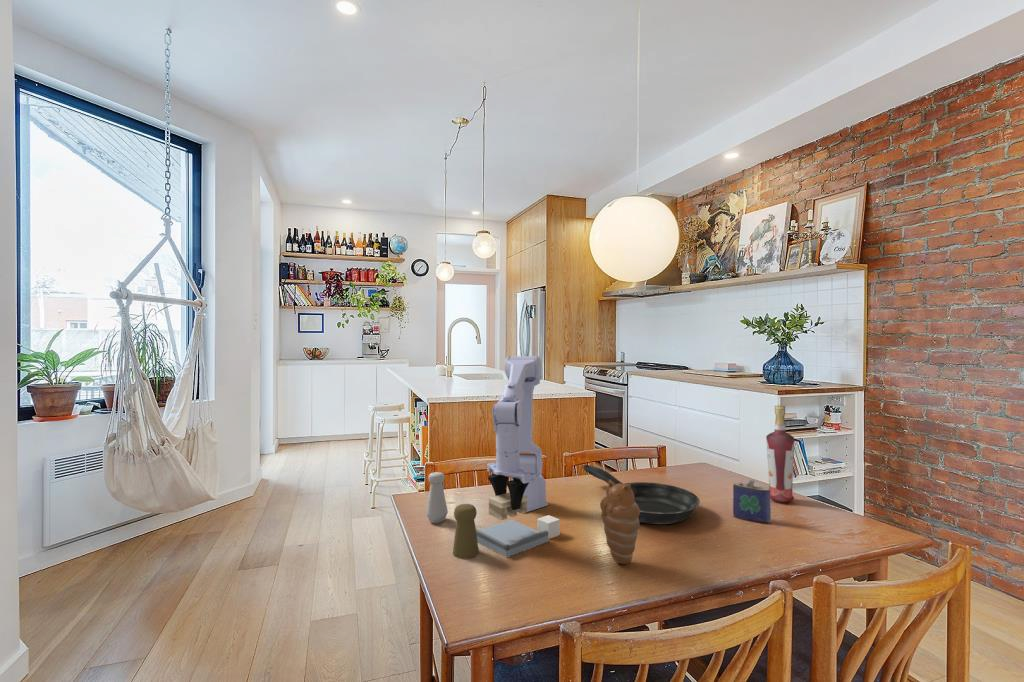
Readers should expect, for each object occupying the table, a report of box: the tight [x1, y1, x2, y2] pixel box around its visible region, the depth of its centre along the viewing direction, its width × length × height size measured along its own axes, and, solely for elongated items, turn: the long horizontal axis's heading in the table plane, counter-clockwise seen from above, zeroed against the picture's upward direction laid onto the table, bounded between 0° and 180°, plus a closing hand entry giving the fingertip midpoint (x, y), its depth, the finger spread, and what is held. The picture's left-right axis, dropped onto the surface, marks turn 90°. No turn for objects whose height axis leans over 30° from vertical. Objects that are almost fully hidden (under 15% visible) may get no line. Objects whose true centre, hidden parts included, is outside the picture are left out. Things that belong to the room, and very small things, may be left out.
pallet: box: [488, 491, 528, 521], centre depth 122 cm, size 8×5×4 cm, turn 130°
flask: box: [732, 479, 772, 525], centre depth 132 cm, size 9×3×11 cm, turn 50°
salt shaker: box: [425, 471, 449, 524], centre depth 135 cm, size 6×6×13 cm
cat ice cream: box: [599, 480, 641, 565], centre depth 108 cm, size 9×8×18 cm
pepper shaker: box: [452, 503, 480, 559], centre depth 115 cm, size 6×6×11 cm
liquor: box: [765, 405, 795, 504], centre depth 147 cm, size 7×7×28 cm
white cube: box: [536, 514, 561, 540], centre depth 125 cm, size 4×4×4 cm
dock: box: [476, 519, 549, 558], centre depth 122 cm, size 13×14×2 cm
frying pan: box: [582, 464, 701, 525], centre depth 147 cm, size 44×25×7 cm, turn 26°
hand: (508, 506), depth 122 cm, fingers closed on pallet, 5 cm apart
